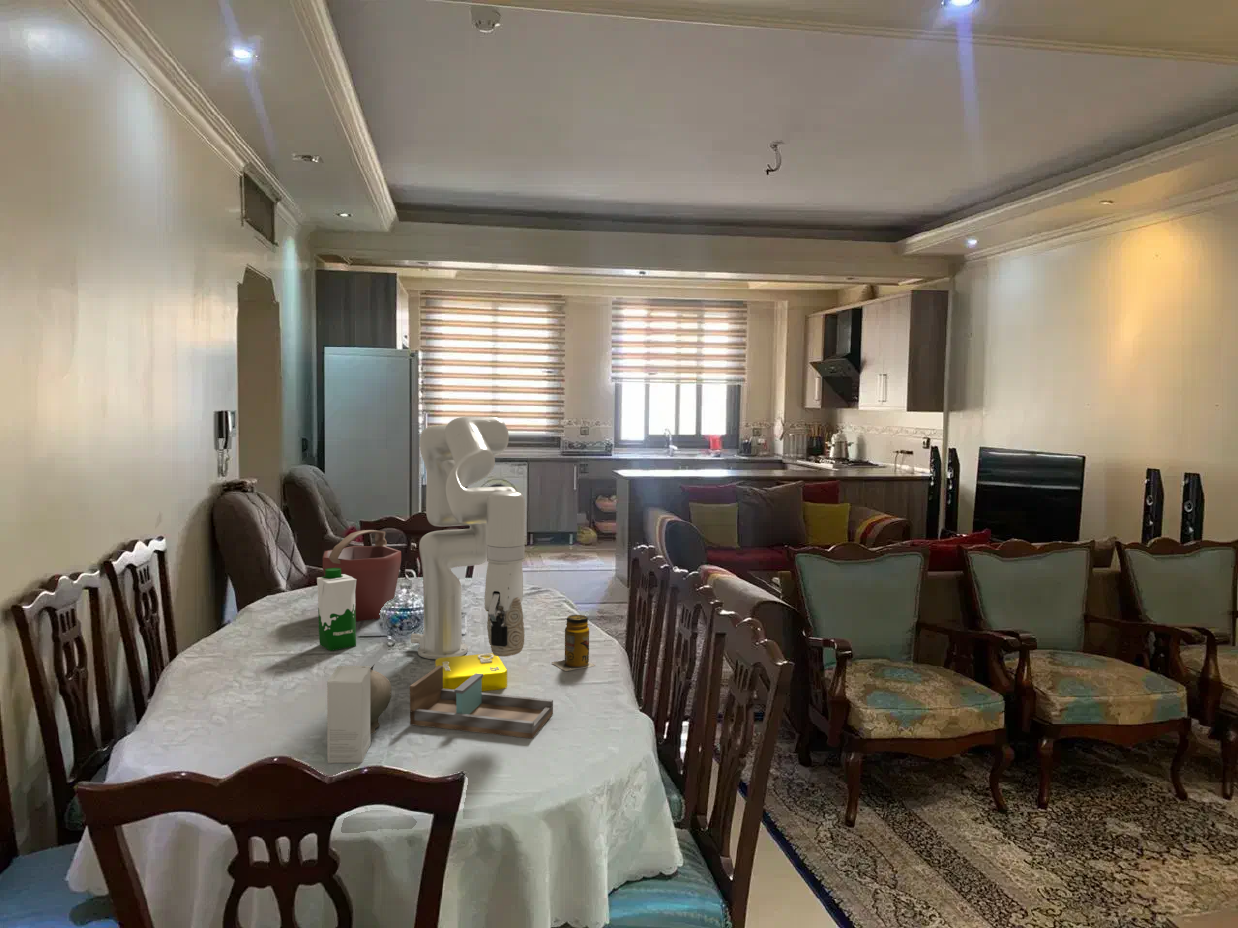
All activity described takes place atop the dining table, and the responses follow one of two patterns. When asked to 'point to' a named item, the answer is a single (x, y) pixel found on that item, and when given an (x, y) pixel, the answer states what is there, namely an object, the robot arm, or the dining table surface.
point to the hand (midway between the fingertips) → (505, 639)
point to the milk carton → (336, 610)
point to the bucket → (367, 571)
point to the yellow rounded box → (473, 671)
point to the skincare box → (348, 714)
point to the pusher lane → (476, 710)
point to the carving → (510, 631)
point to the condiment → (576, 644)
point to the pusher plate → (469, 694)
